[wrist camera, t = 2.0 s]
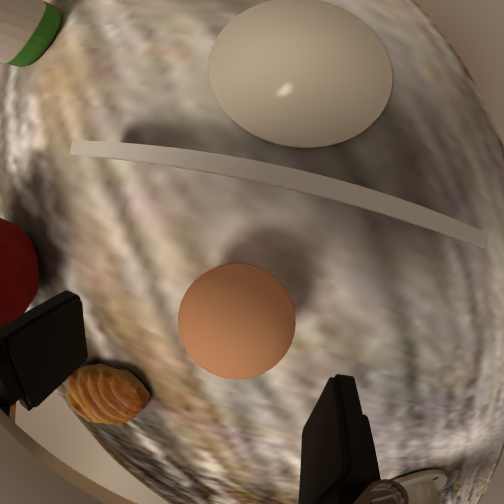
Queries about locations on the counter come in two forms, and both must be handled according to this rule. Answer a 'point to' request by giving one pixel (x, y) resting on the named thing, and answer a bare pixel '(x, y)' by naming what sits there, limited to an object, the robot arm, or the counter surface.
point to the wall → (285, 183)
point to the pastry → (106, 394)
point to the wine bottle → (26, 30)
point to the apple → (16, 271)
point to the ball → (236, 321)
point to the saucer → (300, 73)
